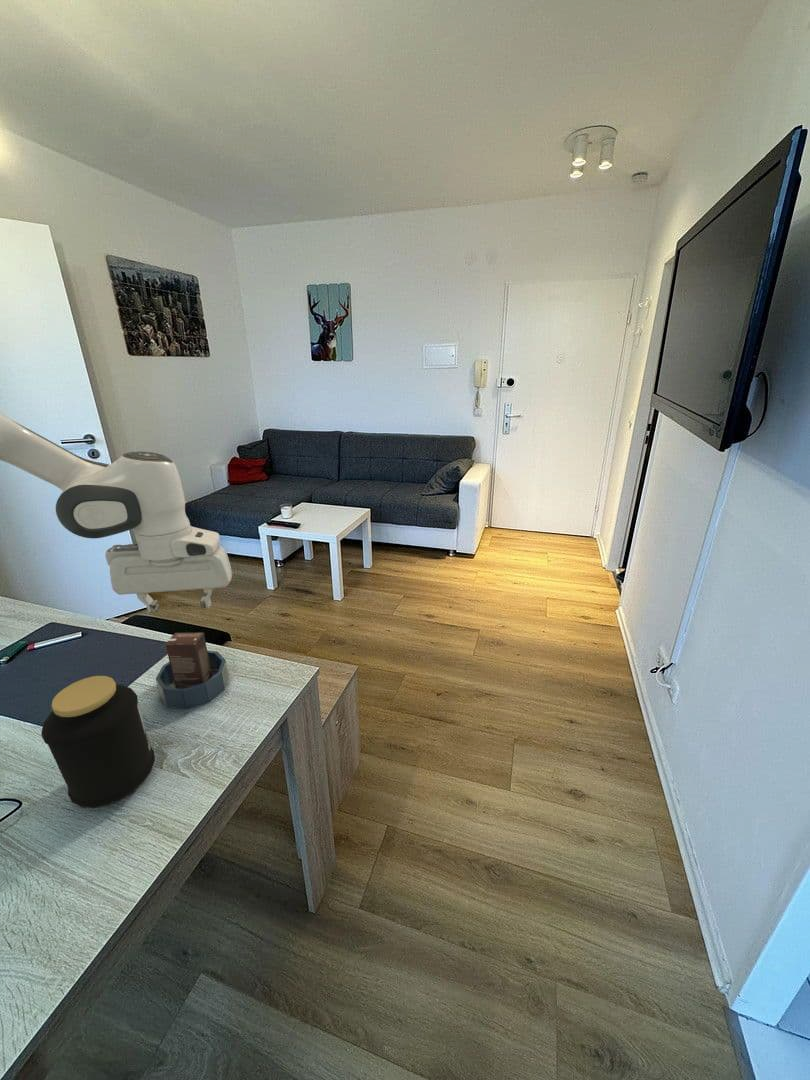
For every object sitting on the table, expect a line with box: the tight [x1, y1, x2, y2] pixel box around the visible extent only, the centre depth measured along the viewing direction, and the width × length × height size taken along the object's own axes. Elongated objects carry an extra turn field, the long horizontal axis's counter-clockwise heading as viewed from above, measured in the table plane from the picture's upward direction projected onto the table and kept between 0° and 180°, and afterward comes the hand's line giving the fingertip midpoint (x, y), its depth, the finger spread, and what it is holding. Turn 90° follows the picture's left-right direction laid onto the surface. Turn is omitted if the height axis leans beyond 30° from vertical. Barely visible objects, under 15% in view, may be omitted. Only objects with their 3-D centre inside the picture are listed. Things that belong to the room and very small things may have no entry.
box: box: [164, 632, 213, 689], centre depth 87 cm, size 6×4×12 cm
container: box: [41, 675, 156, 809], centre depth 66 cm, size 12×12×18 cm
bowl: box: [155, 650, 230, 710], centre depth 89 cm, size 12×13×4 cm
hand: (180, 608), depth 83 cm, fingers open, 8 cm apart
